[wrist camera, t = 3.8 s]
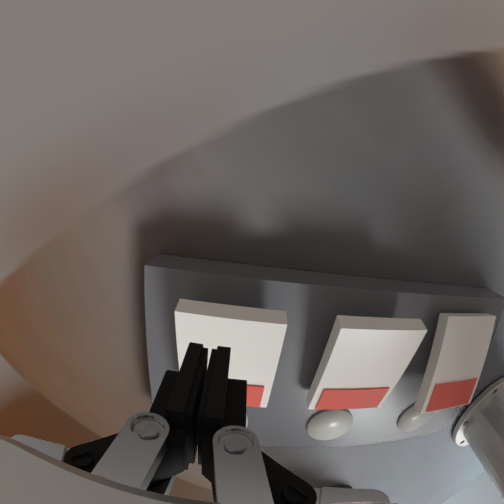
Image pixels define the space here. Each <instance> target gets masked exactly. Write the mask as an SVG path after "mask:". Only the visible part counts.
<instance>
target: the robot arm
mask: <svg viewBox="0 0 504 504" xmlns="http://www.w3.org/2000/svg"><path fill="white" fill-rule="evenodd" d="M230 353H231V347H223V346H218V347H217V349H212V351H211V355H210V360H209V364H208V369H207V363H208V348H203V344H199V343H192V342H190V343H189V345H188V348H187V351H186V354H185V356H184V359H183V362H182V365H181V368H180V371H179V372H178V371H172V370H167V371H166V372H165V375H164V377H163V379H162V382H161V384H160V387H159V389H158V392H157V394H156V397H155V399H154V402H153V404H152V407H151V409H150V412H143V413H138V414H136V415H134V416H132V417H131V418H130V419H129V420H128V421H127V422H126V424H125V425H124V427H123V428H122V429H121V431H120V432H119V433H117V434H114V435H111V436H108V437H105V438H102V439H99V440H95V441H92V442H88V443H85V444H81V445H78V446H75V447H72V448H71V449H69V448H66V446H65V445H61V444H56V443H52V442H48V441H44V440H40V439H36V438H32V437H29V436H25V435H15V436H13V437H11V438H7V437H5V436H1V435H0V504H397V503H390V502H389V498H388V496H387V495H386V494H385V493H384V492H382V491H380V490H375V489H350V488H335V487H324V486H323V487H322V488H321V489H320V488H313V487H312V486H311V485H309V484H308V483H307V482H305V481H304V480H302V479H301V478H299V477H297V476H296V475H294V474H293V473H291V472H290V471H288V470H287V469H286V468H284V467H283V466H281V465H280V464H278V463H277V462H276V461H274V460H273V459H271V458H270V457H269V456H267V455H266V454H265V453H263V452H262V451H261V449H260V444H259V440H258V438H257V436H256V435H255V434H254V433H253V431H251V430H249V429H248V428H246V404H247V380H239V379H229V378H228V374H229V364H230ZM452 437H453V440H454V442H455V443H456V445H458V446H466V445H470V446H471V448H472V450H473V451H474V453H475V454H476V456H477V457H478V459H479V461H480V462H481V464H482V465H483V467H484V469H485V470H486V472H487V474H488V475H489V477H490V478H491V480H492V482H493V484H494V485H495V487H496V489H497V491H498V492H499V494H500V496H501V497H502V499H503V501H504V377H502V378H500V379H499V380H497V381H496V382H494V383H493V384H491V385H490V386H489V387H488V388H486V389H485V390H484V391H483V392H482V393H481V394H480V395H479V396H478V397H477V398H476V399H475V400H474V401H473V402H472V403H471V405H470V406H469V407H468V408H467V409H466V411H465V412H464V413H463V414H462V416H461V417H460V419H459V420H458V422H457V424H456V426H455V428H454V431H453V435H452ZM197 445H198V464H200V465H202V474H203V475H204V476H205V477H206V478H207V479H208V480H209V481H210V482H211V491H212V501H213V503H212V502H204V501H197V500H190V499H184V498H179V497H173V496H168V494H169V492H170V490H171V488H172V485H173V483H174V481H175V477H176V474H179V473H181V472H183V471H184V469H186V470H188V465H189V463H194V462H195V456H196V451H197Z"/></svg>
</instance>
